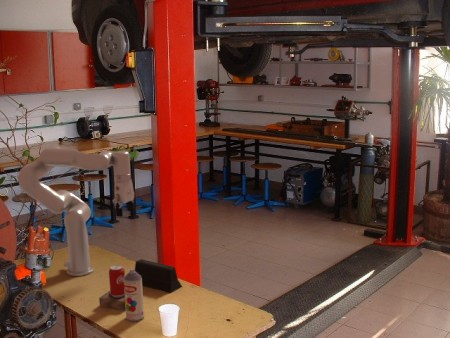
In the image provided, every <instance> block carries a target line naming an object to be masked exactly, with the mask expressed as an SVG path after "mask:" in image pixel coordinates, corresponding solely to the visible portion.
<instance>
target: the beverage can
mask: <svg viewBox="0 0 450 338" xmlns="http://www.w3.org/2000/svg"><path fill="white" fill-rule="evenodd" d="M125 276H126V272H125V268H124V267H123V265H121V264H114V265H111V266H110V268H109V269H108V278H109V280H108V281H109V291H110V294H111V295H112V296H113V297H122V296H124V294H125V291H124V277H125Z"/></svg>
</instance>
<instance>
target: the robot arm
mask: <svg viewBox="0 0 450 338" xmlns="http://www.w3.org/2000/svg"><path fill="white" fill-rule="evenodd" d="M39 153H40V155H39V157H37V158H36V159H35V160H33V161H32V162H29V163H28V164H26V165H24V166H22V168H21V169H20V171H19V173H18V175H17V177H18V178H17V179H18V180H17V181H18V184H19V187H20V188H21V190H22V191H23V192H24V193H25V194H26V195H28V196H29V197H31V198H32V199H34V200H35V201H36V202H38V203H39V204H40V205H42V206H43V207H45V208H46V209H47V210H48V211H50V212H51V213H53V214H55V215H58V214H62V213H63V212H64V213H65V215H64V219H63V221H64V227H65V228H64V229H65V230H66V231H65V232H66V240H67V250H68V251H67V253H68V260H65V261H64V264H63V267H67V269H66V275H68V276H72V277H81V276H82V277H83V276H86V275H90V274H91V273H93V272H94V270H95V267H94V265H92V264H91V259H90V247H89V245H90V244H89V236H88V229H87V223H86V222H87V221H88V220H89V219H90V217H91V215H92V210H91V208H90V206H89V205H88V204H87V203H86V202H85V201H83V200H82V199H81V198H79V197H78V196H76V195H75V194H73V193H72V192H70V191H69V190H67V189H66V190H65V189H59V190H57V191H55V190H54V189H53V188H51V187H50V186H48V184H46V183H43V182H41V181H40V180H41V179H42V178H44V177H45V176H47V174H48V173H49V172H51V171H52V170H53V169H55V167H57V168H58V167H59V168H76V169H80V170H86V171H105V170H107V169H108V168H110V167H113V175H114V176H113V177H114V198H113V199H112V204H113V206H114V208H115V216H116V217H120V218H121V217H123V216H124V215H123V214H124V213H123V208H122V206H123V204H126V210H127V212H134V211H135V210H134V202H135V201H134V200H135V194H136V193H135V191H134V186H133V185H134V184H133V179H132V174H131V173H132V172H131V158H130V156H131V155H130V153H129V152H128V151H127V150H118V151H114V150H103V151H101V152H100V153H87V152H86V153H85V152H81V151H79V150H78V149H76V148H61V147H60V146H58V145H51V146H48V147H46V148H44V149H42V150H41V151H40V152H39Z"/></svg>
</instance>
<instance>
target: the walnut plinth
mask: <svg viewBox="0 0 450 338" xmlns="http://www.w3.org/2000/svg"><path fill="white" fill-rule="evenodd" d="M98 300H99V301H98V302H99V308H104V309H109V310H115V311H116V310H117V311H122V312H126V305H125V294H124V296H122V297H113V296H112V295H111V294H110V290H109V291H107V292H105V293H104V294H103V295H101V296H99V297H98Z"/></svg>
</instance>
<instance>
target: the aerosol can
mask: <svg viewBox="0 0 450 338" xmlns="http://www.w3.org/2000/svg"><path fill="white" fill-rule="evenodd" d="M124 291H125V305H126V311H125V315H126V320H127V322H130V323H137V322H141V321H143V320H144V319H145V312H144V307H145V306H144V295H143V294H144V293H143V291H144V290H143V286H142V278H141V275H140V274H138V273H137V272H135V268H130V269H129V271H128V273H127V274H125V277H124Z"/></svg>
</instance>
